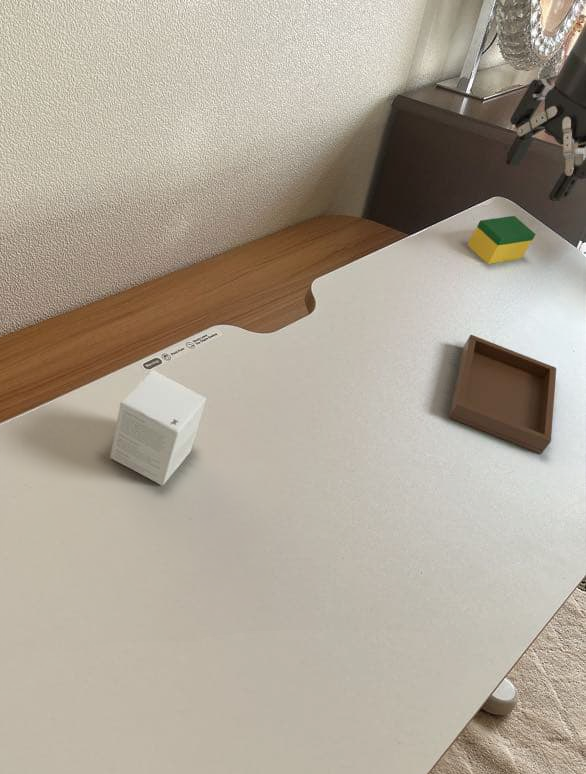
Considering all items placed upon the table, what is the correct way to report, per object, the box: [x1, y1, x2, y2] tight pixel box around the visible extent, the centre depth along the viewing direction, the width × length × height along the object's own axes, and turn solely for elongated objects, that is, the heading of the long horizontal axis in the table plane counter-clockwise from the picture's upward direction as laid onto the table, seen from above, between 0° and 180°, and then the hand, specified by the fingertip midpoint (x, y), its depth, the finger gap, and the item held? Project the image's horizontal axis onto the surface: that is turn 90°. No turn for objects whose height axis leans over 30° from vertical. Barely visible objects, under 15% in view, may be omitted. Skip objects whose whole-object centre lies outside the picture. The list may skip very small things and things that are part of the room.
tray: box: [448, 334, 557, 455], centre depth 104 cm, size 15×11×2 cm
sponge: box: [467, 215, 536, 265], centre depth 125 cm, size 7×5×4 cm, turn 120°
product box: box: [109, 369, 207, 486], centre depth 83 cm, size 6×6×7 cm
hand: (532, 181), depth 118 cm, fingers open, 8 cm apart
